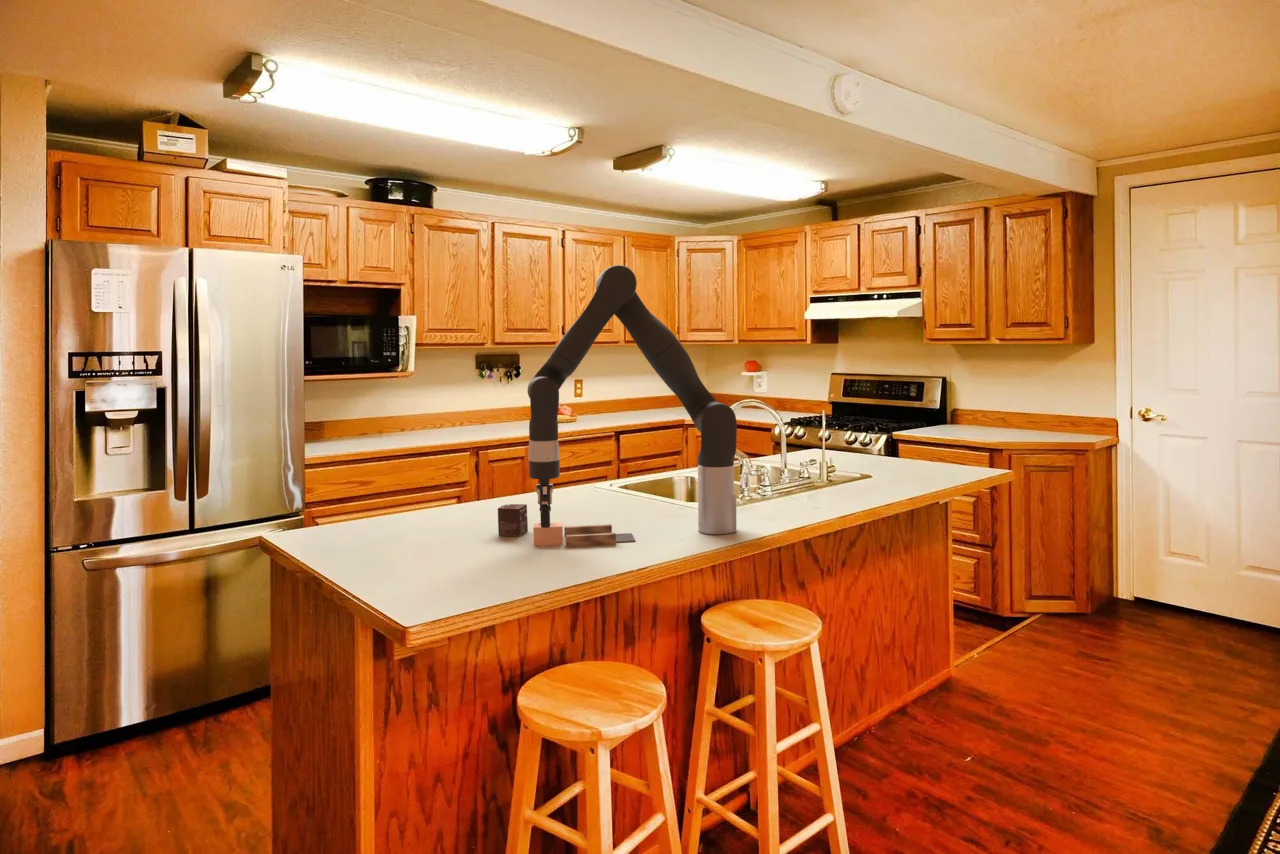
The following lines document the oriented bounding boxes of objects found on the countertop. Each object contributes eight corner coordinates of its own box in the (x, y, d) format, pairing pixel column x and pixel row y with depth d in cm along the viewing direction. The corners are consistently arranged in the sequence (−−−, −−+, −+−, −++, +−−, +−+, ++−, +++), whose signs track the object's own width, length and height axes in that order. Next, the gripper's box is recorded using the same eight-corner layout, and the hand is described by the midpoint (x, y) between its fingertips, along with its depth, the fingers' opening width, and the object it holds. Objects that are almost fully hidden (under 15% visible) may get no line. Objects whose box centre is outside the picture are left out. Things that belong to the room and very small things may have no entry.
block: (562, 539, 190) (562, 522, 189) (562, 544, 185) (562, 526, 184) (534, 541, 189) (534, 523, 188) (533, 546, 184) (533, 527, 184)
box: (520, 537, 193) (519, 508, 192) (497, 536, 194) (496, 508, 193) (528, 531, 199) (527, 504, 198) (506, 531, 200) (505, 503, 199)
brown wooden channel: (611, 533, 194) (611, 524, 194) (615, 544, 183) (615, 534, 183) (564, 536, 193) (564, 526, 192) (566, 546, 182) (565, 536, 182)
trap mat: (631, 534, 193) (631, 533, 193) (635, 541, 186) (635, 540, 186) (611, 535, 193) (611, 534, 193) (615, 542, 185) (615, 541, 185)
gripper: (560, 461, 178) (561, 529, 180) (558, 454, 192) (559, 517, 194) (528, 462, 177) (529, 530, 179) (528, 454, 191) (530, 518, 193)
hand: (545, 523), depth 186 cm, fingers open, 8 cm apart
